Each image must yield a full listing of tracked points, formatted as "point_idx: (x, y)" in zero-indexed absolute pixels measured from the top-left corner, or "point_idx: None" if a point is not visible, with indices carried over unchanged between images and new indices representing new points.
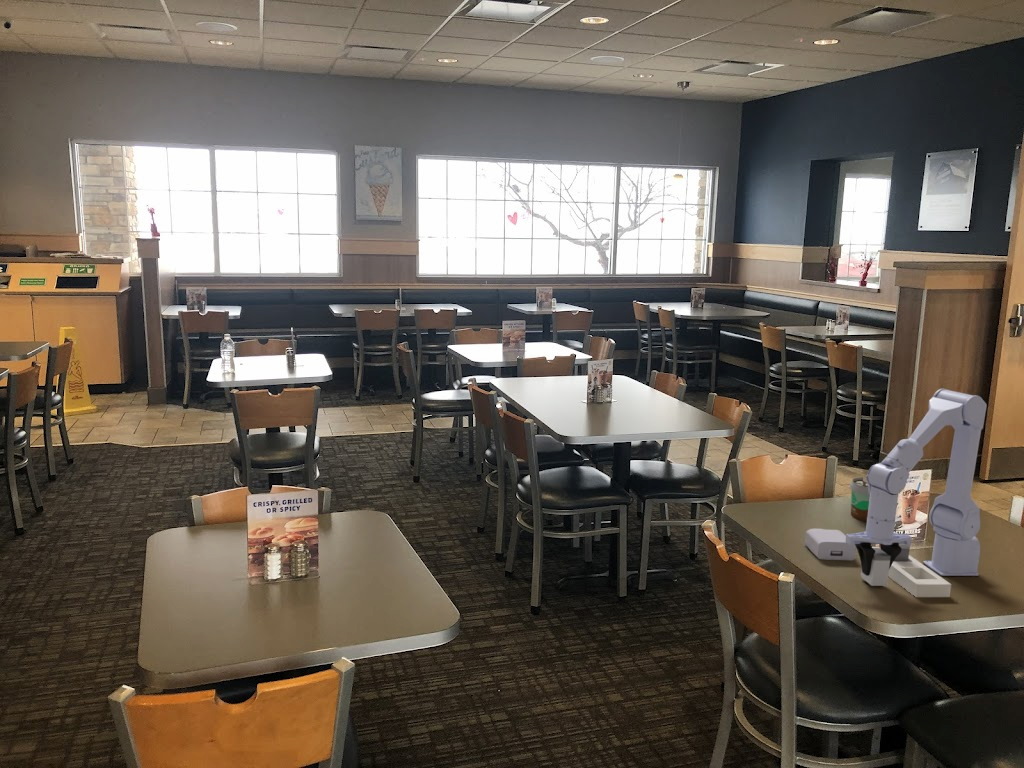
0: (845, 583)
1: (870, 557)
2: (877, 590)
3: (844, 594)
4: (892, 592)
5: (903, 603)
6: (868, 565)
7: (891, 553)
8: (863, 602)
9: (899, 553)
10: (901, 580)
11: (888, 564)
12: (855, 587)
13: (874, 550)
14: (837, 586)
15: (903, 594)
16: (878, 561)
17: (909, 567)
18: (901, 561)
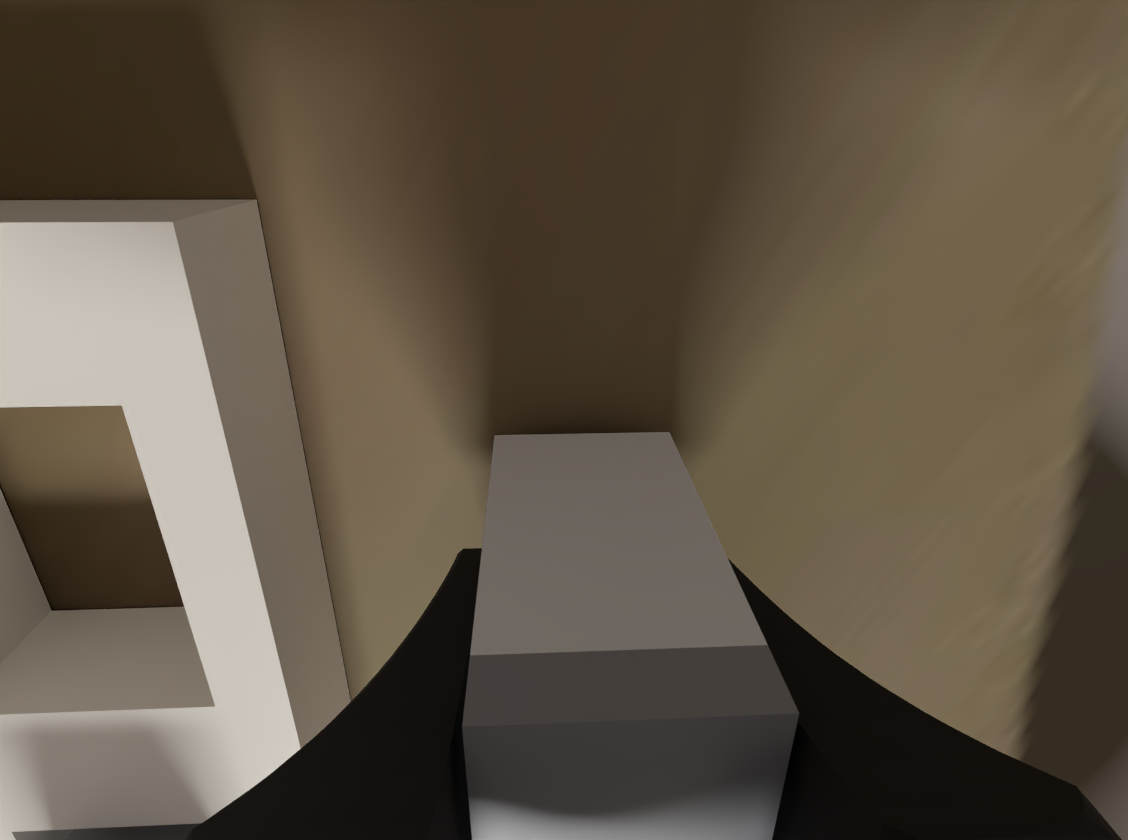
0: (847, 521)
1: (837, 709)
2: (619, 378)
3: (1049, 279)
4: (476, 331)
5: (493, 10)
6: (771, 615)
7: (434, 793)
8: (996, 52)
9: (234, 803)
10: (288, 512)
11: (494, 602)
12: (809, 442)
13: (934, 834)
14: (974, 459)
15: (370, 280)
16: (691, 633)
17: (99, 712)
18: (139, 834)
